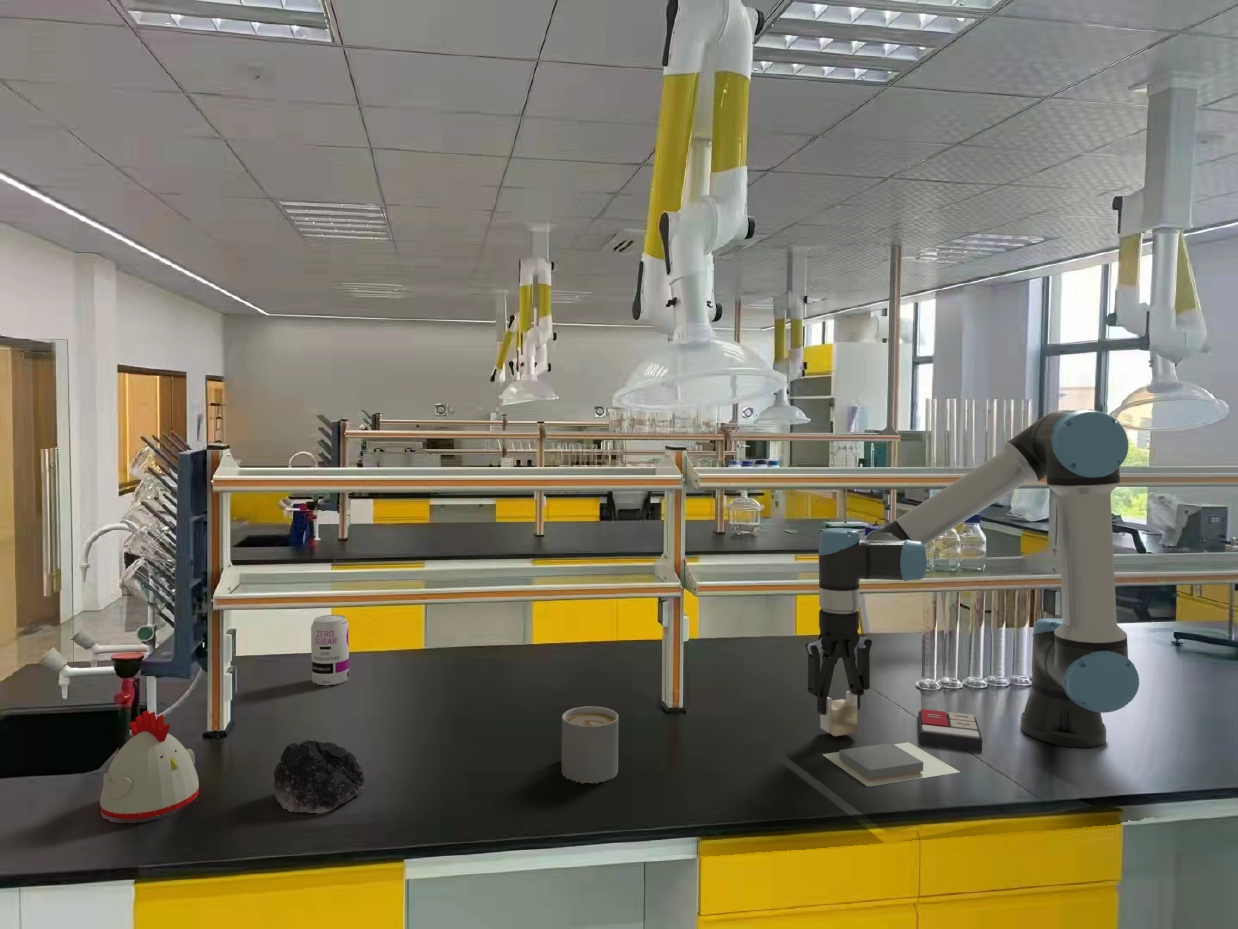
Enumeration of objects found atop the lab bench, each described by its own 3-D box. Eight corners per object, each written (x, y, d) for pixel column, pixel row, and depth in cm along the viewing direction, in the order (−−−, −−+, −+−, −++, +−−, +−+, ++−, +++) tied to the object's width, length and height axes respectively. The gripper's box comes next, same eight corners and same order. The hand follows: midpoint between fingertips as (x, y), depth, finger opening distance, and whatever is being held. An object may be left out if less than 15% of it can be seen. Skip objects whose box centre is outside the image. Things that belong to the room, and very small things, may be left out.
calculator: (975, 713, 170) (982, 735, 156) (975, 734, 170) (982, 758, 156) (918, 706, 173) (919, 728, 159) (917, 727, 173) (919, 751, 159)
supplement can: (344, 674, 202) (343, 612, 201) (352, 684, 195) (352, 620, 194) (308, 679, 198) (308, 616, 197) (316, 689, 191) (315, 624, 190)
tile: (890, 743, 154) (839, 750, 151) (923, 762, 146) (869, 770, 142) (890, 753, 154) (838, 761, 151) (923, 773, 146) (869, 781, 142)
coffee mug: (621, 782, 144) (621, 725, 143) (563, 785, 143) (563, 727, 142) (612, 751, 157) (612, 699, 156) (559, 753, 156) (559, 700, 155)
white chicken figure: (141, 831, 126) (139, 733, 125) (79, 814, 131) (76, 719, 130) (218, 793, 138) (216, 704, 138) (159, 778, 144) (157, 692, 143)
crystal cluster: (378, 802, 137) (380, 740, 138) (299, 824, 127) (301, 757, 128) (337, 783, 146) (339, 725, 147) (260, 802, 137) (262, 740, 137)
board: (908, 748, 160) (908, 742, 160) (960, 778, 146) (960, 772, 146) (821, 760, 154) (821, 754, 154) (867, 793, 140) (867, 786, 140)
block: (842, 724, 166) (842, 699, 165) (857, 733, 161) (857, 707, 161) (820, 727, 164) (820, 702, 164) (834, 736, 159) (834, 710, 159)
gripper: (867, 601, 168) (866, 715, 169) (787, 609, 162) (787, 727, 163) (890, 609, 160) (890, 728, 162) (808, 617, 155) (808, 741, 156)
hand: (838, 727), depth 162 cm, fingers closed on block, 5 cm apart
